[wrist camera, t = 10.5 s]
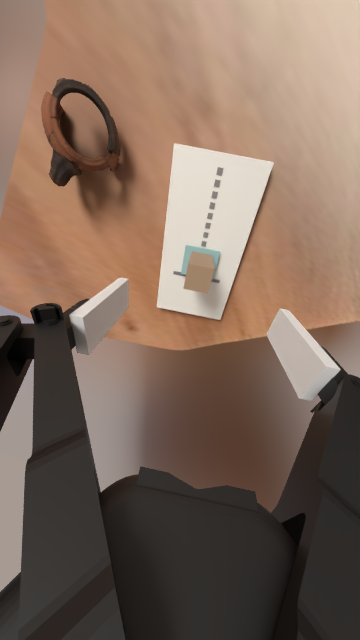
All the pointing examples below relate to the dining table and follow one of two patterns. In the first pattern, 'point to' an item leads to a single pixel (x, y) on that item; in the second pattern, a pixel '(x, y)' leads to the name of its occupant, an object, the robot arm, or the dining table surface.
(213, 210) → the board
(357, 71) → the dining table surface
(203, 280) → the stub
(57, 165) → the dark brown looped ring
